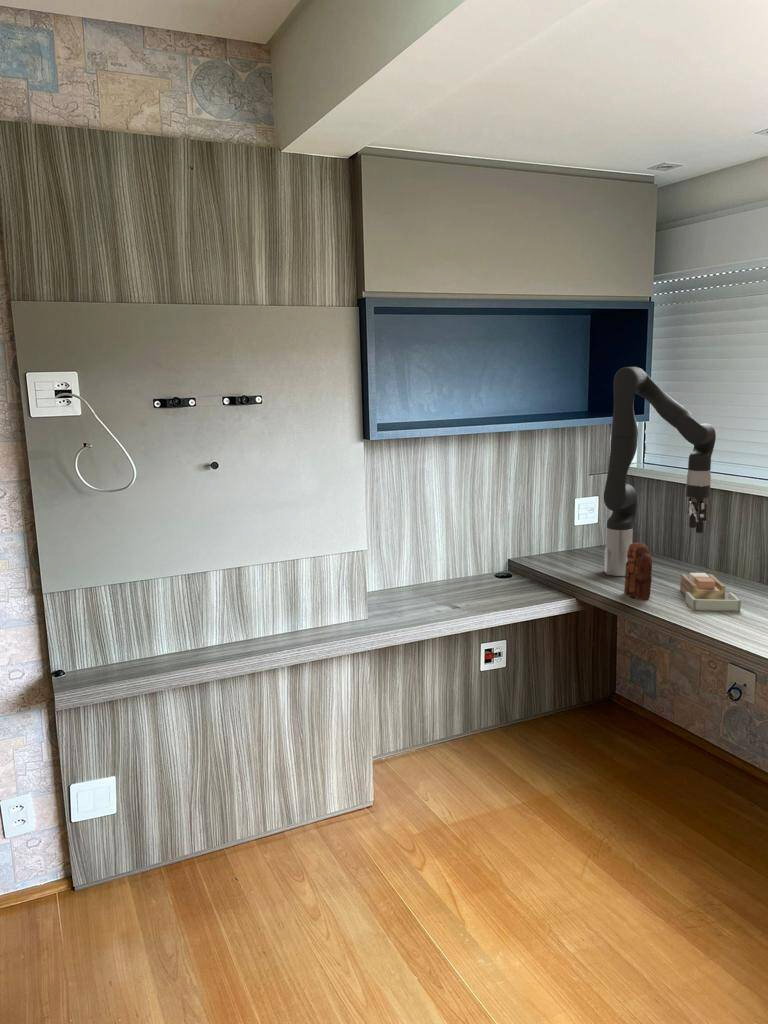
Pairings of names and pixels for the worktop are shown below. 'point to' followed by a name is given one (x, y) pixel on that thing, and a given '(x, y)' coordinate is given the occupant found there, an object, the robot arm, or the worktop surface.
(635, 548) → the wooden figurine
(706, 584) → the tile
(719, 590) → the wooden u-channel
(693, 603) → the tray
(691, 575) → the tile
